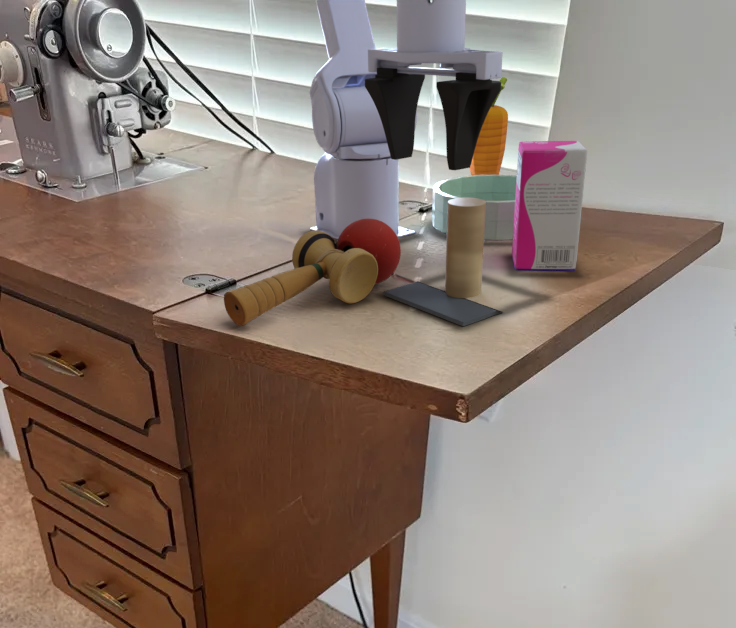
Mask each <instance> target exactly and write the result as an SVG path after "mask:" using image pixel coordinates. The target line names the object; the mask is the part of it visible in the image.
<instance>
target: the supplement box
mask: <svg viewBox="0 0 736 628" xmlns="http://www.w3.org/2000/svg"><path fill="white" fill-rule="evenodd" d="M517 149H518V150H517V164H516V176H517V179H516V195H515V212H514V228H513V240H512V246H511V257H512V262H513V263H512V264H513V268H514V270H515V271H519V272H520V271H521V272H522V271H523V272H576V270H577V260H578V252H579V251H578V250H579V240H580V232H581V231H580V229H581V220H582V209H583V199H584V189H585V179H586V167H587V161H588V149H587V148H586V147H585V146H583V144H581V142H580V141H579V140H533V141H531V140H530V141H529V140H528V141H527V140H526V141H519V142H518V148H517Z"/></svg>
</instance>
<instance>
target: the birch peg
mask: <svg viewBox="0 0 736 628" xmlns="http://www.w3.org/2000/svg"><path fill="white" fill-rule="evenodd" d="M485 211H486V201H484V200H482V199H478V198H467V197H466V198H455V199H451V200H449V201H448V209H447V234H446V243H445V244H446V245H445V246H446V247H445V276H444V277H445V279H444V291H445V293H446V294H447V295H448V296H451V297H454V298H466V299H471V298H476V297H479V296H480V295H481V294H482V284H483V283H482V282H483V266H484V265H483V264H484V247H485V240H484V230H485Z"/></svg>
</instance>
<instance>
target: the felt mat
mask: <svg viewBox="0 0 736 628" xmlns="http://www.w3.org/2000/svg"><path fill="white" fill-rule="evenodd" d="M383 296H385V297H388V298H389V299H392V300H395V301H397V302H399V303H402V304H405V305H408V306H410V307H411V308H414V309H418V310H420V311H423V312H425V313H428V314H430V315H434V316H435V317H438V318H441V319H443V320H446V321H448V322H450V323H453V324H456V325H458V326H461V327H467V326H468V325H471V324H474V323H477V322H480V321H483V320H485V319H488V318H492V317H495V316H497V315H499V314H503V311H502V310H499V309H496V308H493V307H491V306H488V305H484V304H482V303H479V302H476V301H473V300H472V299H471V300H470V299H469V298H454V297H451V296H448V295H447V294H446V293H445V290H443V289H440V288H438V287H435V286H432V285H429V284H427V283H424V282H421V281H414V282H410V283H408V284H405V285H401V286H398V287H394V288H391V289H388V290H384V291H383Z"/></svg>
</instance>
